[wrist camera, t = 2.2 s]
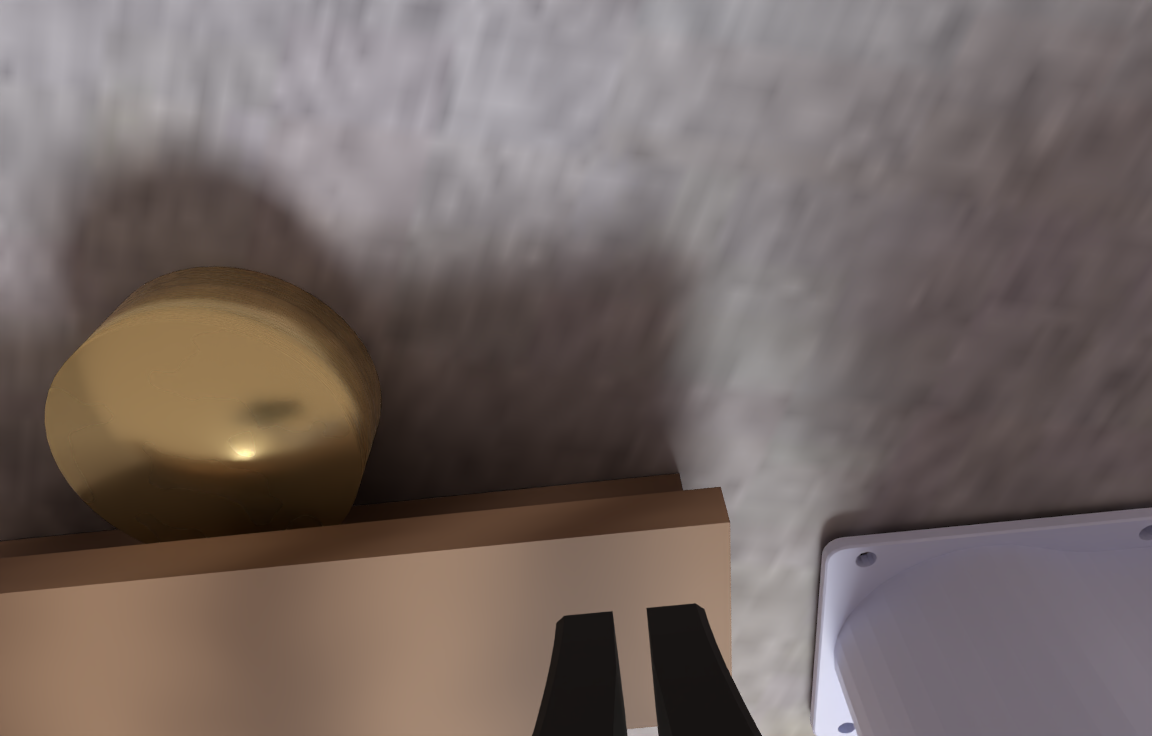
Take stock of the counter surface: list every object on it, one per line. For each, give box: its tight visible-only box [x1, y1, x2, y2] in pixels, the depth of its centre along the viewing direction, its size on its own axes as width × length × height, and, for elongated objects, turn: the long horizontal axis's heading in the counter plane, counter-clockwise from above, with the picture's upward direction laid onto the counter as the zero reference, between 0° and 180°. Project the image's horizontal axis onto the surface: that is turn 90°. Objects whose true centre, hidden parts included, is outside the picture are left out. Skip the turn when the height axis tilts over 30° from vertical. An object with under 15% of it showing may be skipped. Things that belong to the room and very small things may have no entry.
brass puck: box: [45, 267, 381, 544], centre depth 17 cm, size 6×6×2 cm
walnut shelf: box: [0, 473, 732, 736], centre depth 19 cm, size 18×6×4 cm, turn 96°
